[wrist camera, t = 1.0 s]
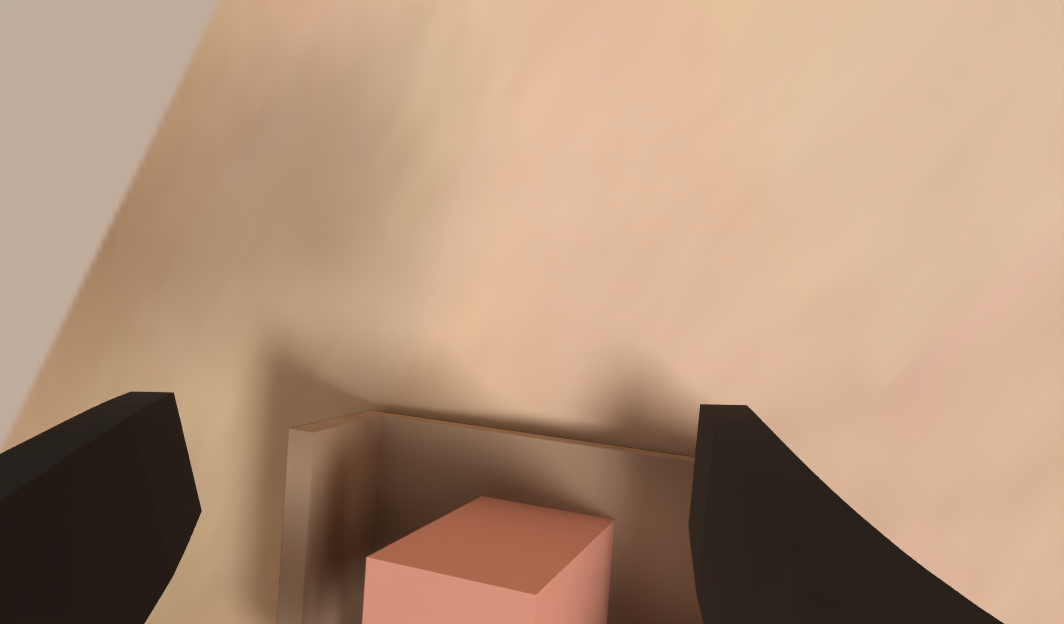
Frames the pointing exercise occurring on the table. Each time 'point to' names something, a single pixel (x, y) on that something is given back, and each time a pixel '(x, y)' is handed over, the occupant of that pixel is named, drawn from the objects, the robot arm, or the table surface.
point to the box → (457, 479)
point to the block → (494, 568)
